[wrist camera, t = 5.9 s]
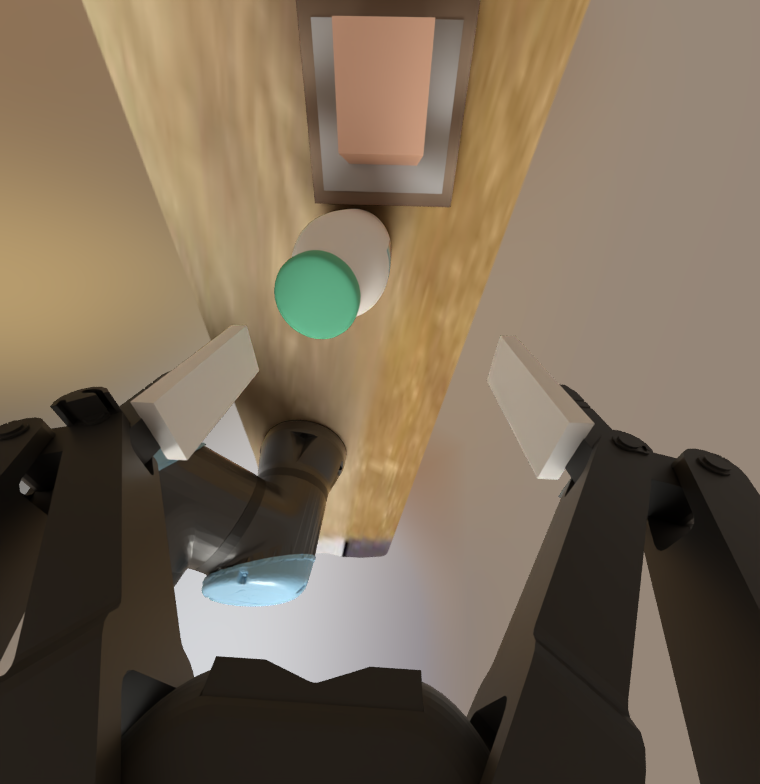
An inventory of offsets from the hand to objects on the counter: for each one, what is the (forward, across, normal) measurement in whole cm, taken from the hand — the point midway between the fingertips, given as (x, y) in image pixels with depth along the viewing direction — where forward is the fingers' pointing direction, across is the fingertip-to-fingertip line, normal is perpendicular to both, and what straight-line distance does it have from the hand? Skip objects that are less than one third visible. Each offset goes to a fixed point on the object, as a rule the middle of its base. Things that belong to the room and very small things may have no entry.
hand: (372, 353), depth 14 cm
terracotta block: (+18, 0, -12) cm, 22 cm away
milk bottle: (+22, +3, -2) cm, 22 cm away
